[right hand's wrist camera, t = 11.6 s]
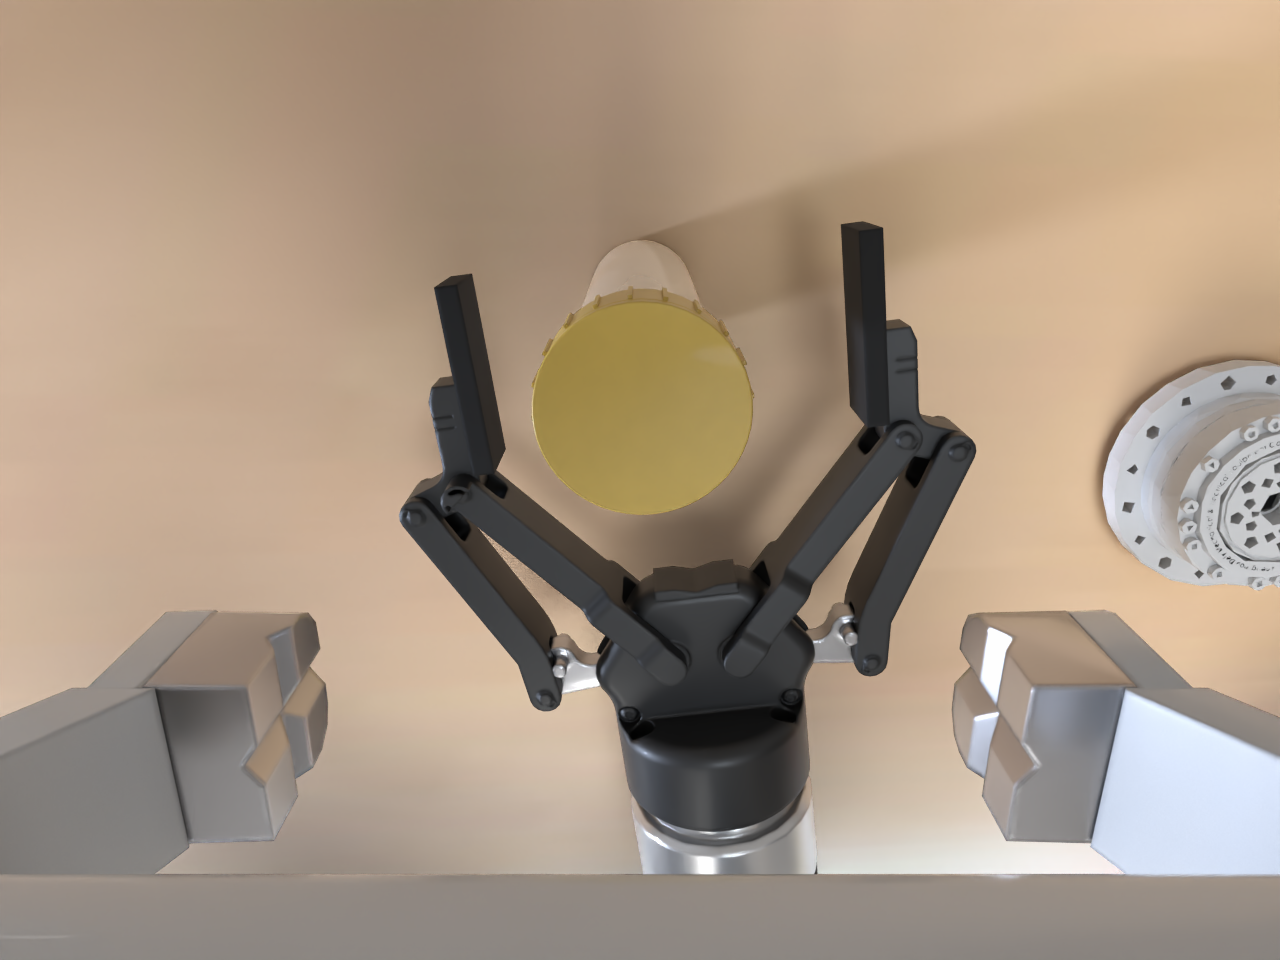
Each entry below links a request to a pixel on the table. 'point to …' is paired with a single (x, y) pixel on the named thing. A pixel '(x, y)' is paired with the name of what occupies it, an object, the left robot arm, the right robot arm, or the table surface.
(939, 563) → the table surface
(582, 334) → the lid
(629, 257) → the white cylinder
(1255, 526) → the mechanical component
